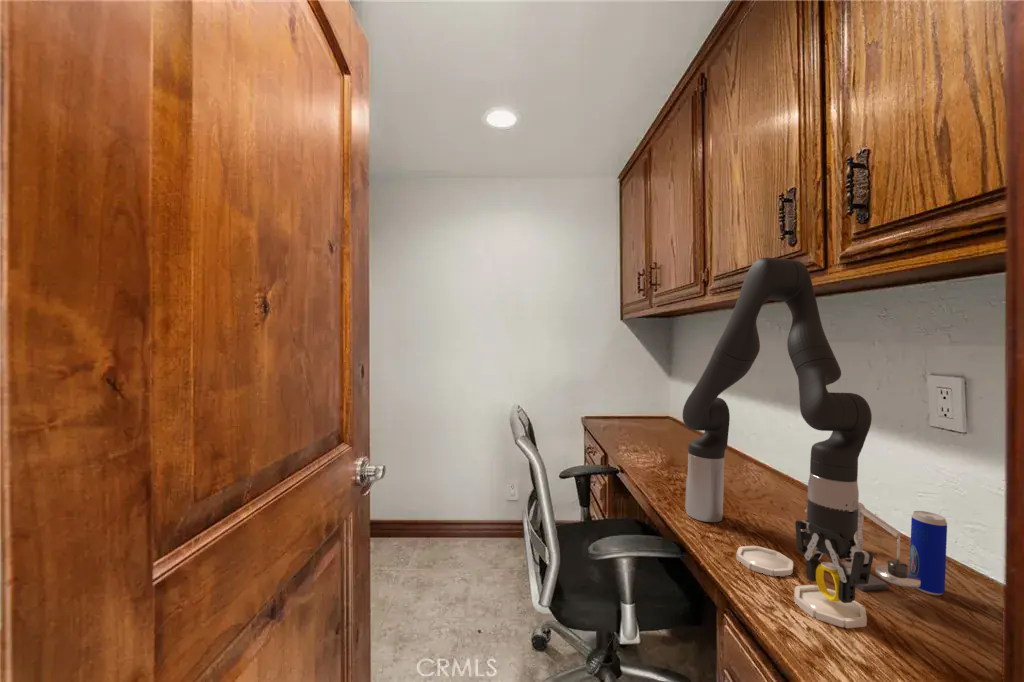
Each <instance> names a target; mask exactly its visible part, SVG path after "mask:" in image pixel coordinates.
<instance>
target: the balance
mask: <svg viewBox="0 0 1024 682" xmlns="http://www.w3.org/2000/svg"><path fill="white" fill-rule="evenodd" d="M864 516H865V517H867V518H868V519H870V520H871V521H873V522H874V523H876V524H877V525H878V526H880V528H881V527H882V528H883V530H885V531H886V532H888V533H889V534H891V535H892V536H893V537H895V538H897V539H896V540H897V541H896V560H895V559H888V560H887V564H883V565H882V564H880V565H877V566H875V575H876V576H878V577H876V576H874V575H873V574H871V573H870V576H869V581H868V584H859V585H855V588H857V589H859V590H860V591H862V592H869V591H880V590H888V589H889V583H891V584H894V585H896V586H900V587H903V588H909V589H915V588H918V587H920V585H921V580H920V579H919V578H918V577H917V576H916V575H914V574H912V573H910V571H908V570H909V569H908V568H909V566H908V564H906V563H904V562H903V561H900V553H901V550H900V549H901V537H902V534H903V533H902V532H901V531H899V530H898V529H897V528H895V527H893V526H892V525H890V524H889V523H888V522H886V521H885V520H883V519H882V518H880V517H878V516H877V515H876V514H874V513H873V512H871V511H870V510H868V509H867V508H866V506H865V505H864V504H863V503H862V502H860V501H858V529H857V531H856V533H855V535H854V540H855V543H856V546H857V547H859V548H860V549H862V550H863V545H864V543H863V542H864ZM852 555H853V554H852ZM845 570H846V573H847V574H848V571H847V568H846V567H845ZM887 582H888V583H887Z"/></svg>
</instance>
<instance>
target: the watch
mask: <svg viewBox="0 0 1024 682" xmlns="http://www.w3.org/2000/svg"><path fill="white" fill-rule="evenodd" d="M825 571H826V572H828V573H830V575H831V576H832V579H833V583H834V588H835V589H834V590H835V595H834V596H833V595H832V594H830V593H829V592H828V590H827V586H826V583H825V578H824V577H825V576H824V575H825ZM839 580H841V579H840V576H839V573H838V570H837V568H836V567H835V566H834V565H833V562H830V561H822V562H821V564H819V565H818V567H817V568H816V581H815V582H816V585H817V586H818V588H819V590H820V592H821V593H822V594H823V595H825V596H826V597H827V598H828V599H829V601H835V602H838V601H840V600H839Z"/></svg>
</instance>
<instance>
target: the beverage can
mask: <svg viewBox="0 0 1024 682" xmlns="http://www.w3.org/2000/svg"><path fill="white" fill-rule="evenodd" d="M910 520H911V521H910V522H911V523H910V524H911V525H910V546H909V547H910V549H909V550H910V553H909V555H910V556H909V572H910V573H912V574H914V575H916V576H917V577H918V578H919V579H920V580H921V585H920V587H918V588H914V589H916V590H917V591H919V592H921V593H924V594H926V595H930V596H938V597H939V596H942V595H943V594H944V593H945V592H946V567H947V564H946V563H947V541H948V539H947V538H948V537H947V536H948V523H947V519H946V517H944V516H942V515H940V514H936V513H934V512H930V511H924V510H914V511H913V513H912V515H911V519H910Z"/></svg>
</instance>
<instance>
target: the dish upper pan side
mask: <svg viewBox="0 0 1024 682" xmlns="http://www.w3.org/2000/svg"><path fill="white" fill-rule="evenodd" d="M735 555H736V557H735V559H736V561H738V562H739V563H740V562H741V563H740V564H741V565H743V566H744V567H746V568H747V569H748V570H750V571H753V572H755V573H759V574H762V573H763V574H762V575H765V576H766V575H767V576H769V575H770V576H769V577H774V576H780V577H786V576H785V575H791V574H792V573H793V571H794V561H793V560H792V559H790V558H789V557H787V556H786V555H784V554H782V553H781V552H779V551H777V550H775V549H770V548H767V547H763V546H760V545H759V546H758V545H742V546H739V547H738V548H737V551H736V554H735ZM792 575H793V574H792ZM792 575H791V576H792Z"/></svg>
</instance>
